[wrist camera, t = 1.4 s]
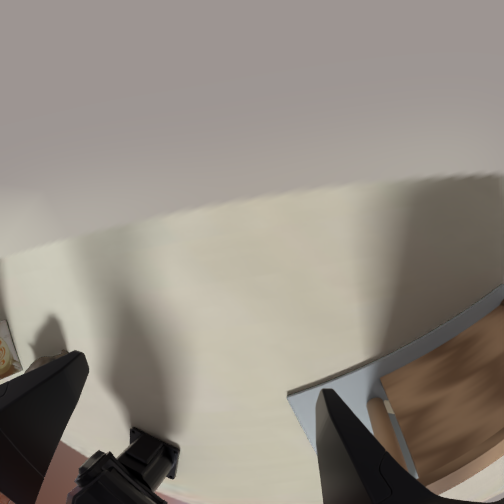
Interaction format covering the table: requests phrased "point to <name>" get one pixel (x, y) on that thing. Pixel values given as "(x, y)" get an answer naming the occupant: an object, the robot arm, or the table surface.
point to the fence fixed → (453, 404)
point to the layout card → (368, 377)
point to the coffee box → (7, 353)
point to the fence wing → (384, 429)
